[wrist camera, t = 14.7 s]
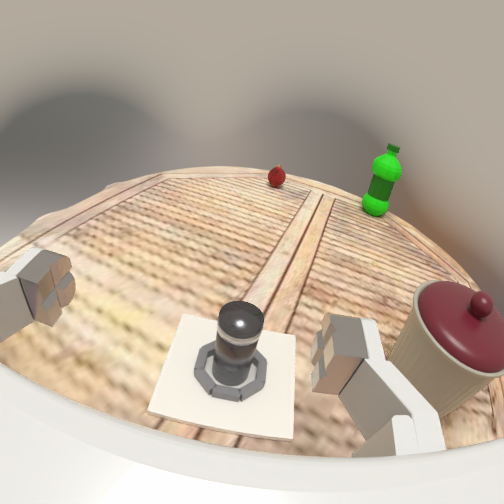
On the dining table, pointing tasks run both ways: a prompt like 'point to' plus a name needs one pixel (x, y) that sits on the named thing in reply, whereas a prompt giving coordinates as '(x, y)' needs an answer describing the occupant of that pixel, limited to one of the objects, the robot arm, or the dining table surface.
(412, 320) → the canister
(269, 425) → the mount board
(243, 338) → the lens tube
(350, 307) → the dining table surface
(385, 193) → the plastic bottle
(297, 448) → the dining table surface
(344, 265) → the dining table surface
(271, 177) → the onion
